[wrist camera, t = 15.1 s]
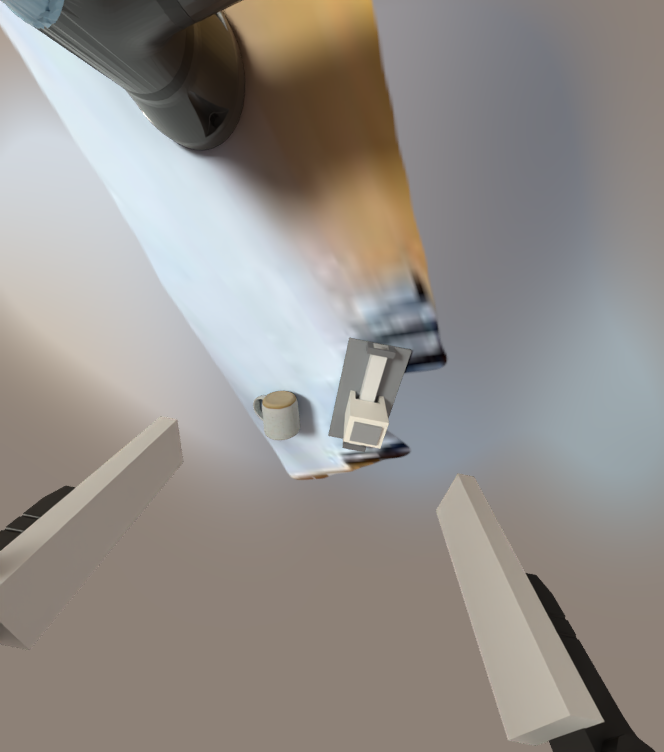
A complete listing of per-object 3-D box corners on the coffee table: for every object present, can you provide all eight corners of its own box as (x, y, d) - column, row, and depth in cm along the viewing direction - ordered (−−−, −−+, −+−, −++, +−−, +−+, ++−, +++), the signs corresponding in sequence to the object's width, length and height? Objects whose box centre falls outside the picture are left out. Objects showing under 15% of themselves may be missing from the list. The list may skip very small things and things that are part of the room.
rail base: (349, 337, 47) (348, 343, 44) (411, 349, 47) (415, 356, 44) (328, 434, 58) (327, 444, 54) (378, 444, 58) (380, 455, 55)
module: (350, 390, 51) (349, 417, 43) (383, 396, 51) (389, 425, 43) (344, 414, 54) (343, 444, 45) (376, 420, 54) (380, 451, 45)
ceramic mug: (300, 388, 53) (291, 408, 46) (303, 419, 56) (295, 442, 49) (252, 387, 54) (237, 407, 47) (259, 418, 57) (245, 440, 51)
